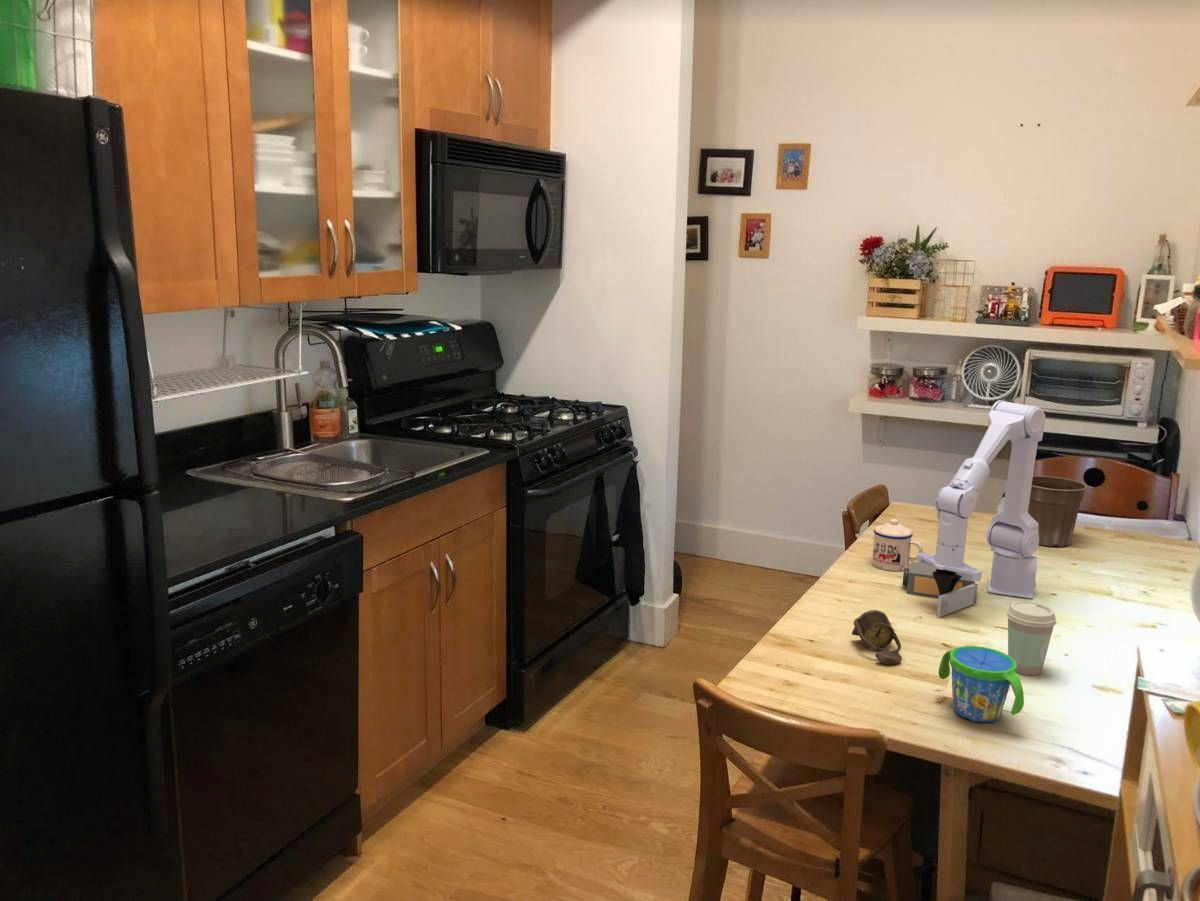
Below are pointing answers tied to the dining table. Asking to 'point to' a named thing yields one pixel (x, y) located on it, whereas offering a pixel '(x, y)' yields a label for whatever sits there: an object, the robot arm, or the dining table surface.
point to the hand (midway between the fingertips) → (944, 603)
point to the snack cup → (981, 682)
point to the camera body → (926, 580)
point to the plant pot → (1055, 508)
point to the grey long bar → (957, 599)
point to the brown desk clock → (877, 635)
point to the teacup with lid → (893, 546)
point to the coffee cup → (1029, 635)
